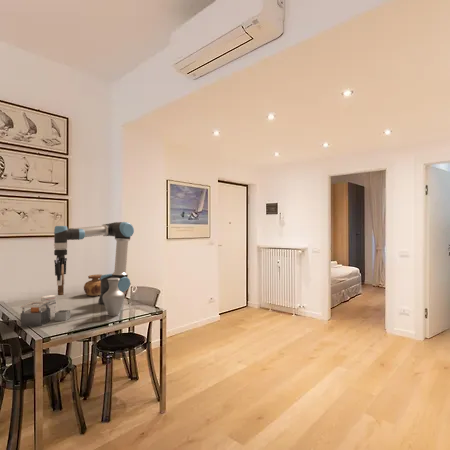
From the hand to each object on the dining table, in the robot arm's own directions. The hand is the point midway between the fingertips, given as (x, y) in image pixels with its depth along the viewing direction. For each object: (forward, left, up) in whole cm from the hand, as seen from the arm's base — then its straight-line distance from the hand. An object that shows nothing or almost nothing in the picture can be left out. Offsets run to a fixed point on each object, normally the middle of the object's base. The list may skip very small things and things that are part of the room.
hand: (60, 284), depth 207 cm
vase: (-32, -8, -23) cm, 40 cm away
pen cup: (-1, -1, -23) cm, 23 cm away
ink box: (+16, -18, -23) cm, 33 cm away
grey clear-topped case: (+12, +7, -23) cm, 27 cm away
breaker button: (+12, +7, -17) cm, 22 cm away
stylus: (0, 0, -7) cm, 7 cm away
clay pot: (+2, -75, -23) cm, 78 cm away
